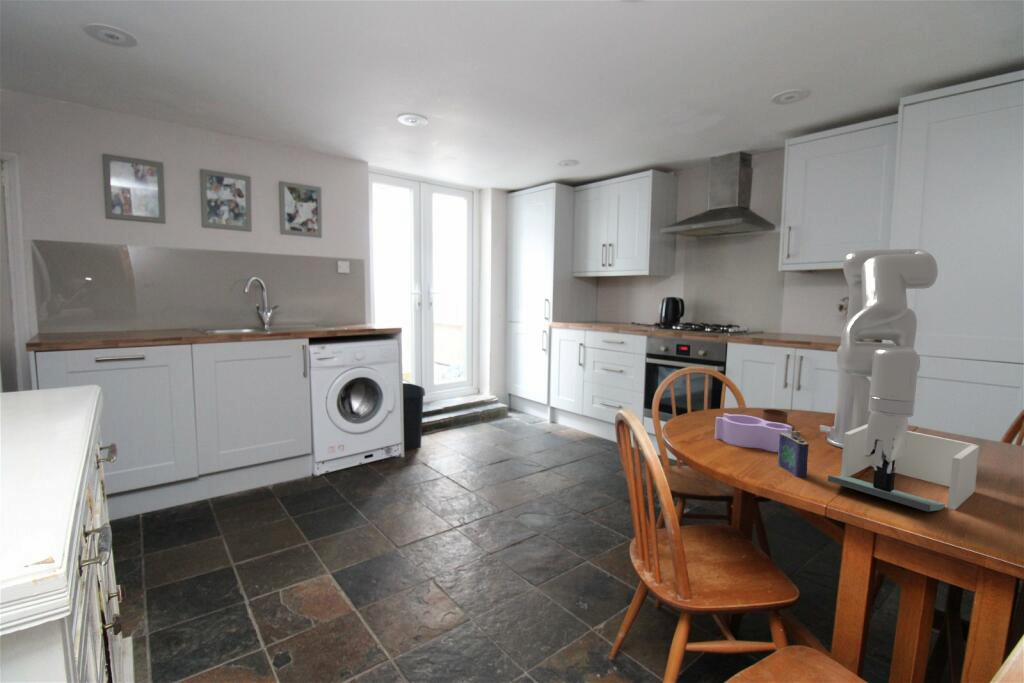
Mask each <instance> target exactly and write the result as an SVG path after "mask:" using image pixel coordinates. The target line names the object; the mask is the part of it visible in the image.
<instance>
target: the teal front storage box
mask: <svg viewBox="0 0 1024 683" xmlns="http://www.w3.org/2000/svg"><path fill="white" fill-rule="evenodd" d="M867 426H868V424H866V425H864V426H861V427H859V428H856V429H854V430H851V431H849V432H846V433H844V442H843V448H842V453H841V454H842V456H841V464H840V465H841V466H840V475H839V476H849V477H852V476H853V475H855V474H857V473H859V472H861V471H863V470H865V469H866V468H869V467H872V468H874V465H873V461H874V456H875V454H874V455H872V456H869V457H866V456H865V455H864V446H865V439H866V432H867ZM980 448H981V444H977V443H970V442H966V441H962V440H961V441H960V440H956V439H951V438H946V437H941V436H935V435H930V434H926V433H921V432H916V431H910V430H908V431H907V444H906V450H905V454H904V455H903V456H901V457H900V458H898V459H897V464H896V470H895V472H894V473H895V474H898V475H902V476H907V477H910V478H914V479H917V480H921V481H926V482H929V483H933V484H938V485H940V486H941V485H942V486H945V487H949V489H948V498H947V505H946V506H947V509H950V510H954V511H955V510H956V509H957V508H959V507H960V506H961V505H962V504H963V503H964V502H965V501H966V500H967V499H968V498H970V496H972V495H973V494H974V493H975V490H976V481H977V472H978V464H979V459H980V458H979V457H980V450H981V449H980Z"/></svg>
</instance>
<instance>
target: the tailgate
mask: <svg viewBox="0 0 1024 683" xmlns="http://www.w3.org/2000/svg"><path fill="white" fill-rule="evenodd" d="M827 482H829V483H832V484H836V485H838V486H842V487H845V488H849V489H851V490H856V491H859V492H862V493H864V494H869V495H872V496H876V497H879V498H882V499H886V500H889V501H891V502H896V503H898V504H902V505H906V506H908V507H912V508H915V509H919V510H921V511H924V512H934V511H935V512H936V511H942V510H943V509H945V507H946V504H945V503H944V502H939V501H935V500H932V499H928V498H926V497H923V496H919V495H915V494H911V493H907V492H905V491H901V490H897V489H894V490H893V491H891V492H887V491H884V490H880V489H877V488H874V487H873V482H869V481H865V480H863V479H860V478H855V477H852V476H850V477H849V476H840V475H828V476H827Z"/></svg>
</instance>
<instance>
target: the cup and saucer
mask: <svg viewBox="0 0 1024 683" xmlns="http://www.w3.org/2000/svg"><path fill="white" fill-rule="evenodd" d="M788 416H789V415H788V412H786V411H785V410H779V409H769V408H768V409H763V410H762V418H761V419H763V420H766V421H770V422H777V423H783V424H787V425H789V426H791V427H792V431H795V429H796V426H795V425H793V424H792V423H790V422H788Z"/></svg>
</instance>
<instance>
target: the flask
mask: <svg viewBox="0 0 1024 683" xmlns="http://www.w3.org/2000/svg"><path fill="white" fill-rule="evenodd" d="M790 432H791V434H787V433H779V450H778V452H777V453H778V454H777V464H776V465H777V466H778V467H780V468H782V469H785V470H786V471H788V472H789V473H791V474H792V475H793V476H794V477H795V478H799V479H803V480H804V479H807V477H808V476H807V474H808V460H809V458H808V457H809V443H808V442H807V441H806V440H805V439H803V438H802V437H801V435H799V433H801V431H800V430H792V431H790Z"/></svg>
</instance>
